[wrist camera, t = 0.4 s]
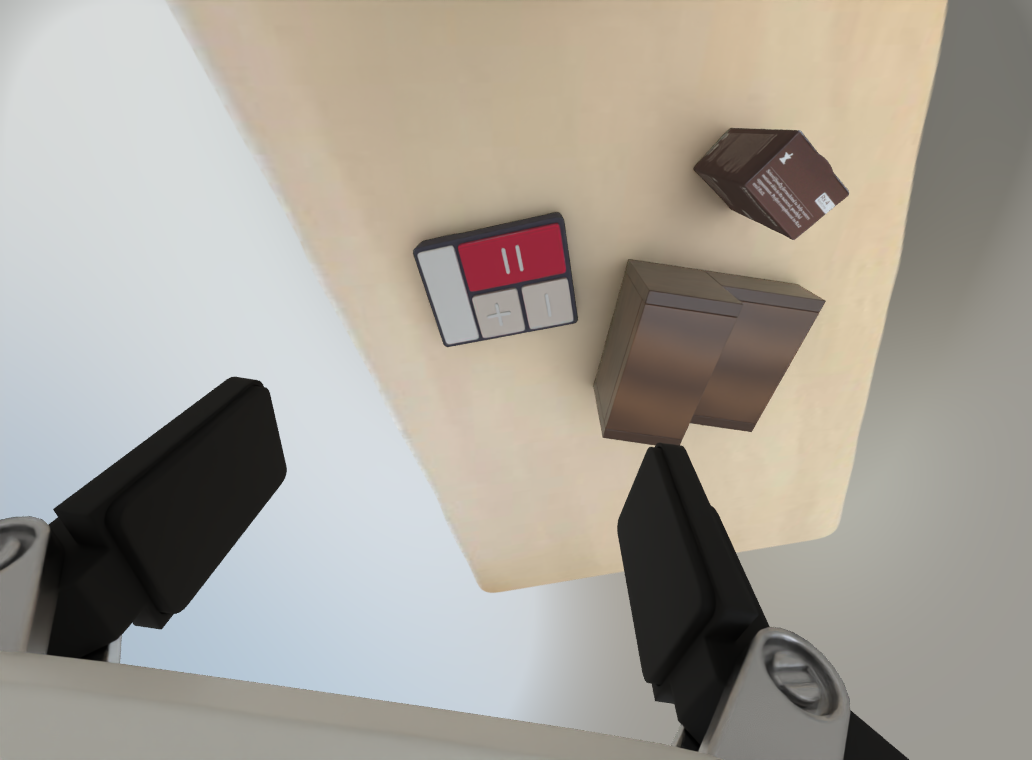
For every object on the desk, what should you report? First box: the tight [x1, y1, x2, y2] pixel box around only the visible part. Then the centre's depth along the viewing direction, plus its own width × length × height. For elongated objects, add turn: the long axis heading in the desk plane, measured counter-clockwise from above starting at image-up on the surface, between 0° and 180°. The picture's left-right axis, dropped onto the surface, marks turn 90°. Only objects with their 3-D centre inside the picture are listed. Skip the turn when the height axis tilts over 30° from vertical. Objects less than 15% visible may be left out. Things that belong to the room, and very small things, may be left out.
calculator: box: [413, 212, 578, 347], centre depth 42 cm, size 11×4×15 cm
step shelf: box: [593, 259, 826, 445], centre depth 41 cm, size 16×18×10 cm
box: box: [693, 128, 849, 240], centre depth 32 cm, size 6×4×12 cm
